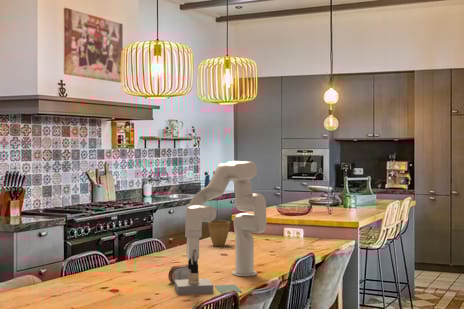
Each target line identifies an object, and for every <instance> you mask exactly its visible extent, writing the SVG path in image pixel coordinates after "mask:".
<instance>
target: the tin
mask: <svg viewBox="0 0 464 309" xmlns="http://www.w3.org/2000/svg"><path fill="white" fill-rule="evenodd" d="M189 270H191V269H188V263H187V264H181V265H175V266H173V267H171V268H170V269H169V271H168V276H167V278H168V280H169V282H170V283H172V284H175V280H184V279H189Z"/></svg>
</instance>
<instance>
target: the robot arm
mask: <svg viewBox="0 0 464 309" xmlns="http://www.w3.org/2000/svg"><path fill="white" fill-rule="evenodd" d="M257 172H258V167H257V165H256V163H254V162H253V161H245V160H243V161H241V160H231V161H228V162H226V163H219V164H218V166H217V167H216V169H215V171H214V173H213V174H212V176H211V178H210V181H209V183H208V185H207V186H205V187H203V188H202V189H201V190H200V191H198V192H197V193H196V194H195V195H193V197H192V198H191V199H190V202H189V204H188V206H187V207H186V208H185V227H184V228H185V232H184V233H185V234H184V236H185V237H184V238H186V250H185V251H186V253H185V254H186V255H185V256H186V258H187V260H188V262H187V264H188V269H191V273H198V271H199V258H200V238H203V236H202V235H203V234H202V233H203V232H202V231H203V230H202V229H203V223H208V222H210V221H215V219H216V217H217V211H216V208H215V207H213V206H212V205H204V204H205V203H207V202H208V201H212V200H214V199H216V198H218V197H219V198H220V197H221V196H223V194H224V193H225V190H226V189H227V187H228V184H229V182H231V181H232V182H233V185H234V193H235V195H234V198H235V207H236V209H237V211H241V212H242V213H238V214H236V215H235V216H234V218H233V229H234V233H235V234H234V236H235V243H234V244H235V245H234V246H235V249H234V250H235V257H234V258H235V259H234V260H235V261H234V262H235V263H234V265H235V268H234V269H235V270H233V271H232V275H233V276H237V277H253V276H256V275H257V273H258V272H257V271H256V270H254V269H255V268H254V265H255V264H254V263H255V262H254V261H255V258H254V257H255V256H254V254H255V250H254V249H255V247H254V246H255V242H254V241H255V240H254V237H253V235H252V233H253V234H254V233H255V234H262V233H264V232H265V231H266V230H267V222H268V221H267V203H266V198H265V197H264V195H262V194H261V193H255V192H253V191H252V184H251V183H252V182H251V181H250V180H251V179H253V178H254V177H255V176H256V175H257ZM243 212H250V213H243ZM251 212H252V213H251Z"/></svg>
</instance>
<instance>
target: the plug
mask: <svg viewBox="0 0 464 309" xmlns="http://www.w3.org/2000/svg"><path fill="white" fill-rule="evenodd" d="M199 272H200V271H199V270H198V273H191V270H189V284H197V283H199V279H200V277H199Z"/></svg>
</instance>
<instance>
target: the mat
mask: <svg viewBox="0 0 464 309" xmlns="http://www.w3.org/2000/svg"><path fill="white" fill-rule="evenodd" d="M214 287H215V289H216V290H217V291H218V292H219V293H220V294H222V293H223V292H225V293H227V292H226V291H228V290H236V291H237V292H236V293H241V294H242V290H241V289H240V288H239V287H238V286H237V285H236V284H217V285H214Z"/></svg>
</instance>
